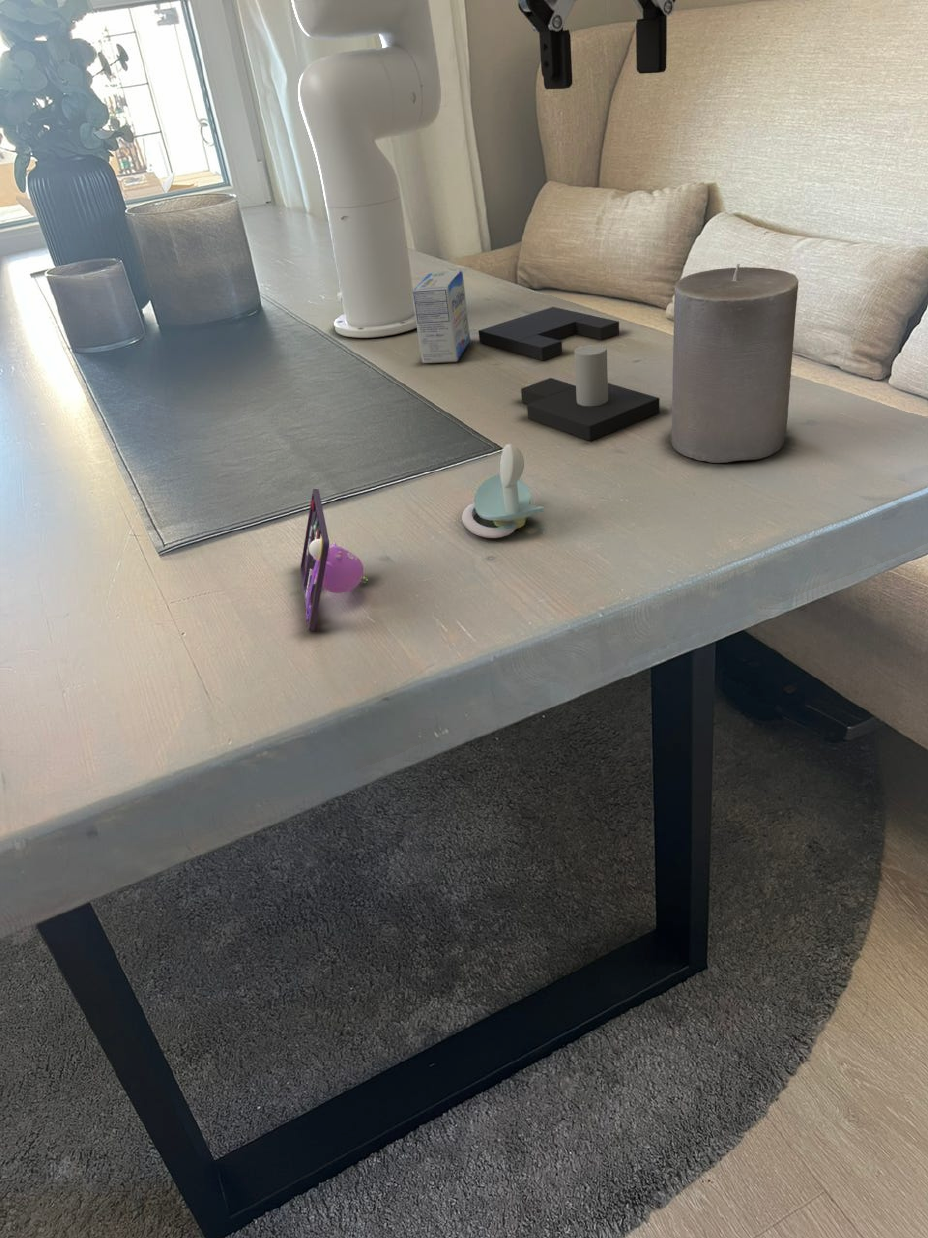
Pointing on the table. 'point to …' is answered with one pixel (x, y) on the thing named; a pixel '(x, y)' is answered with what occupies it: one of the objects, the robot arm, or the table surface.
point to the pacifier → (502, 499)
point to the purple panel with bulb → (325, 563)
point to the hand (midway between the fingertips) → (605, 80)
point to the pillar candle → (732, 362)
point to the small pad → (586, 418)
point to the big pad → (546, 332)
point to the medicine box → (441, 317)
